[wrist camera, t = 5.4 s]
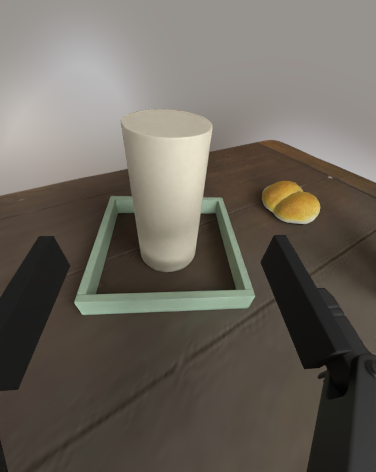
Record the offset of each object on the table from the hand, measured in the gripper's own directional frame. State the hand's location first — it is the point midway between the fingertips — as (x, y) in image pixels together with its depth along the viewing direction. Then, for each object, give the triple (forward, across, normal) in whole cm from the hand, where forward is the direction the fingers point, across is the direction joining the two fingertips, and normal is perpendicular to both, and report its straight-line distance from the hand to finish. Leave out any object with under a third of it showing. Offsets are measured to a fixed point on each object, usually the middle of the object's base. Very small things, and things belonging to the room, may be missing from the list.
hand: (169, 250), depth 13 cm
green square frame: (+9, 0, -10) cm, 13 cm away
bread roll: (+18, +20, -10) cm, 29 cm away
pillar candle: (+9, 0, -10) cm, 14 cm away
